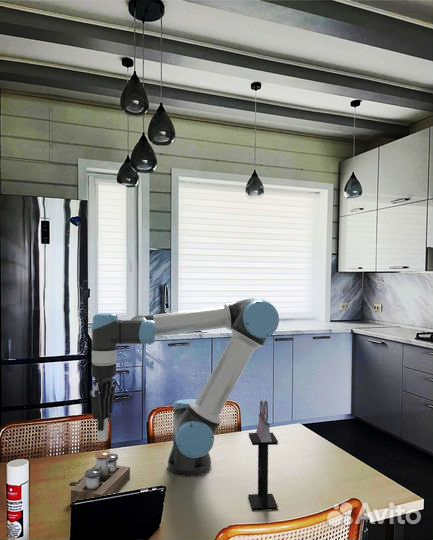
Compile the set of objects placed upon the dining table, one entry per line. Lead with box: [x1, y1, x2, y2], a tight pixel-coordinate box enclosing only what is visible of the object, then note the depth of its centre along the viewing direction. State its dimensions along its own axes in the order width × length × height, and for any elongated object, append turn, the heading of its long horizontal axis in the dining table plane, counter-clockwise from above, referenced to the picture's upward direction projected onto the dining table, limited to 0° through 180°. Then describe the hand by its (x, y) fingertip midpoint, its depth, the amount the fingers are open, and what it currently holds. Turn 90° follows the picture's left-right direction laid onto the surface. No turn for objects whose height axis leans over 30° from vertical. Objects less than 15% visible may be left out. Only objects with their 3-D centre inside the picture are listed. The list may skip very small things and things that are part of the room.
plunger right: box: [108, 453, 119, 474], centre depth 132 cm, size 4×4×8 cm
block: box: [70, 465, 131, 504], centre depth 127 cm, size 10×18×4 cm, turn 166°
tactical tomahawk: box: [69, 464, 96, 487], centre depth 140 cm, size 21×7×1 cm, turn 166°
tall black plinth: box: [247, 400, 279, 512], centre depth 121 cm, size 10×8×30 cm
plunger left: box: [84, 467, 101, 491], centre depth 122 cm, size 4×4×8 cm
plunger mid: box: [94, 450, 111, 482], centre depth 127 cm, size 4×4×8 cm
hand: (102, 439), depth 127 cm, fingers closed
